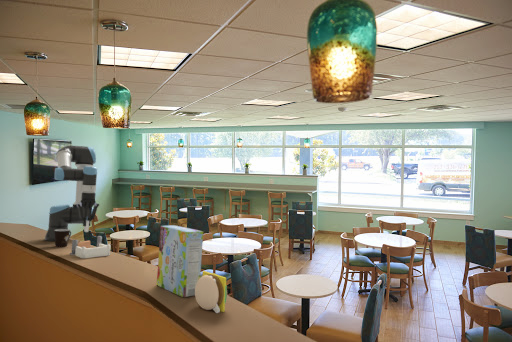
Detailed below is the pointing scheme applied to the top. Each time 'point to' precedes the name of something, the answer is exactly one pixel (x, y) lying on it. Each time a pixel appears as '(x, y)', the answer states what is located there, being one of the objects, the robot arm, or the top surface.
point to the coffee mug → (61, 237)
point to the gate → (79, 244)
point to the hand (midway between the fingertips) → (86, 231)
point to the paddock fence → (93, 250)
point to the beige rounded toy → (211, 292)
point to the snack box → (179, 259)
